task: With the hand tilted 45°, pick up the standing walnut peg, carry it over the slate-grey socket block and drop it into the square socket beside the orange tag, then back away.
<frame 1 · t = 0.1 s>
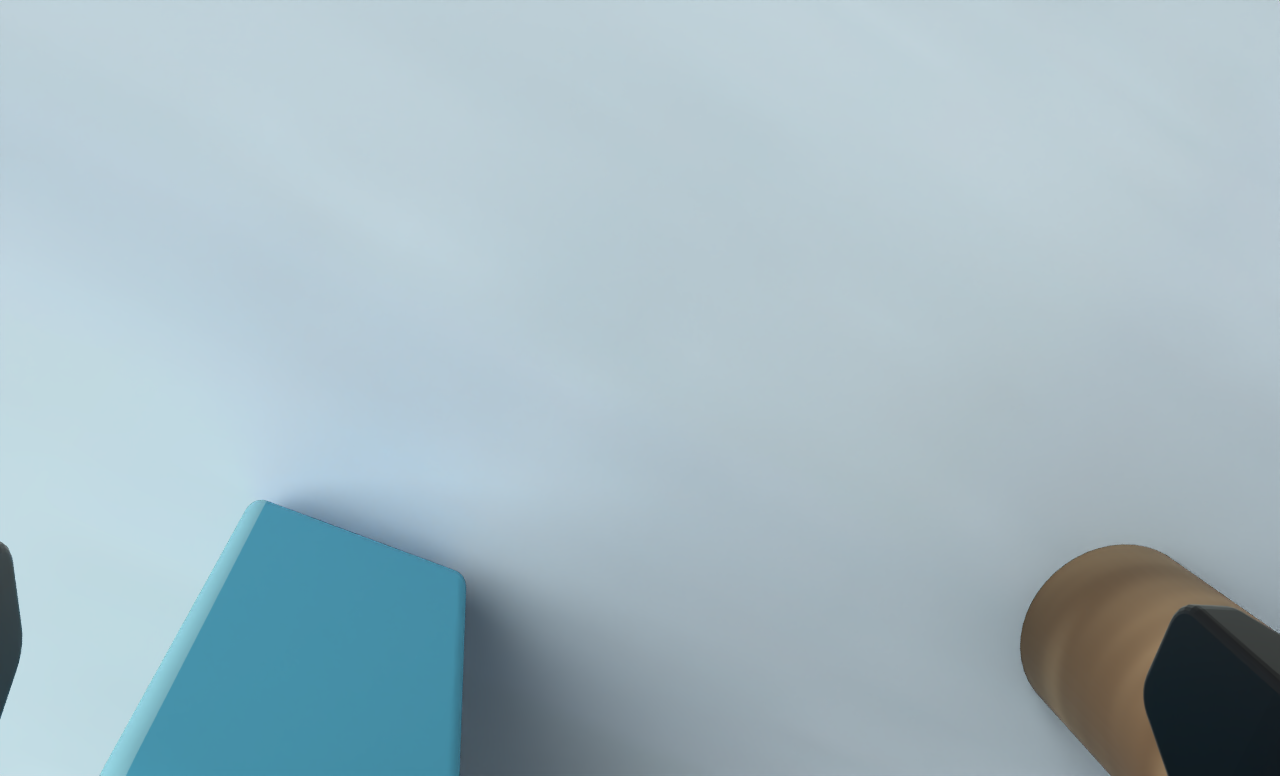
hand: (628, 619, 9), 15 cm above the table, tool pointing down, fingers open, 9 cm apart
walnut peg: (1111, 633, 28), on the table
data package: (267, 750, 26), on the table
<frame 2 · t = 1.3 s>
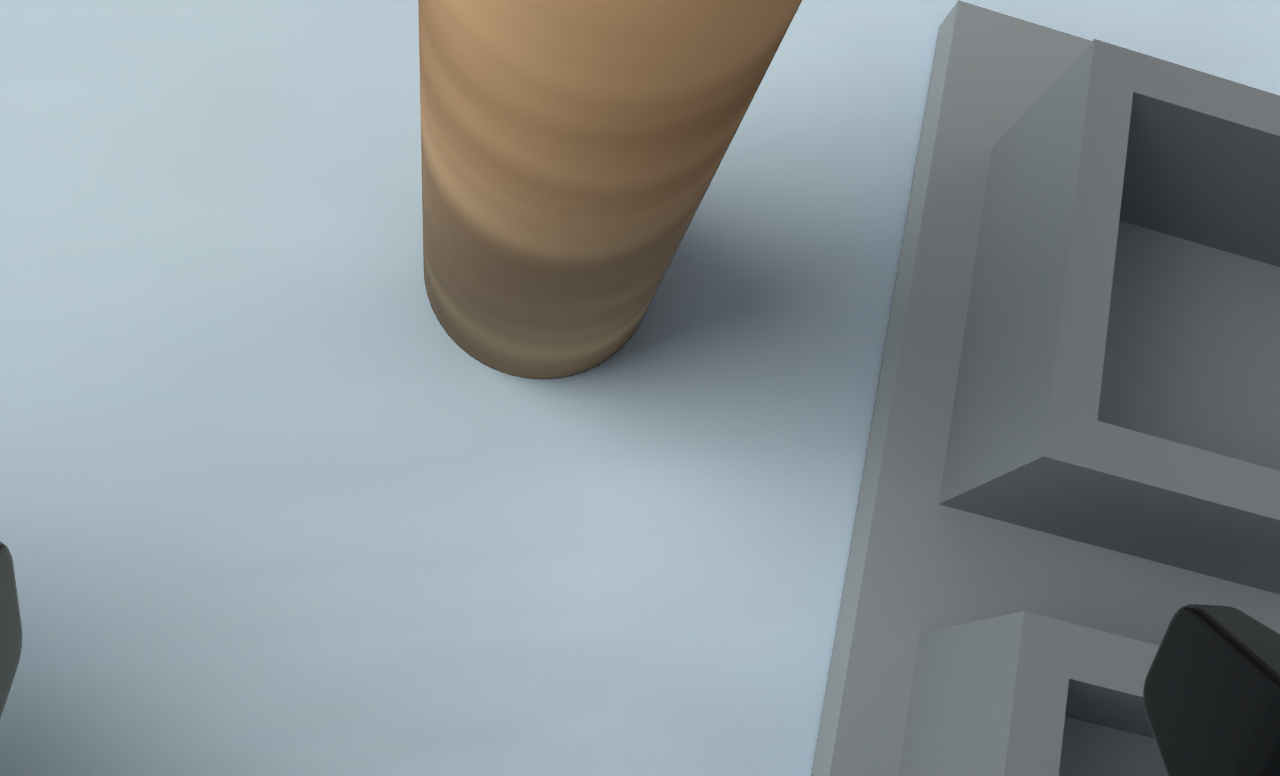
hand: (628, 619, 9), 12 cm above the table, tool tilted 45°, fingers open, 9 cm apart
socket block: (1147, 584, 23), on the table
walnut peg: (539, 269, 23), on the table
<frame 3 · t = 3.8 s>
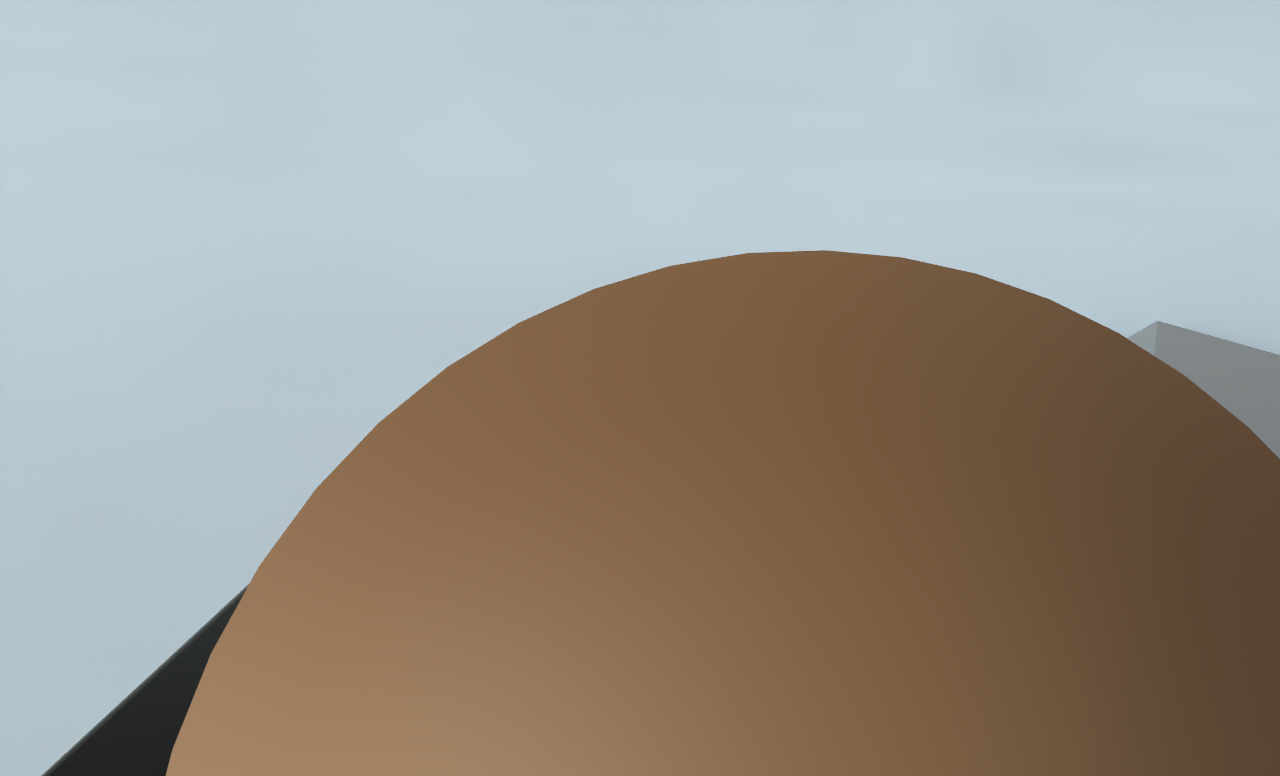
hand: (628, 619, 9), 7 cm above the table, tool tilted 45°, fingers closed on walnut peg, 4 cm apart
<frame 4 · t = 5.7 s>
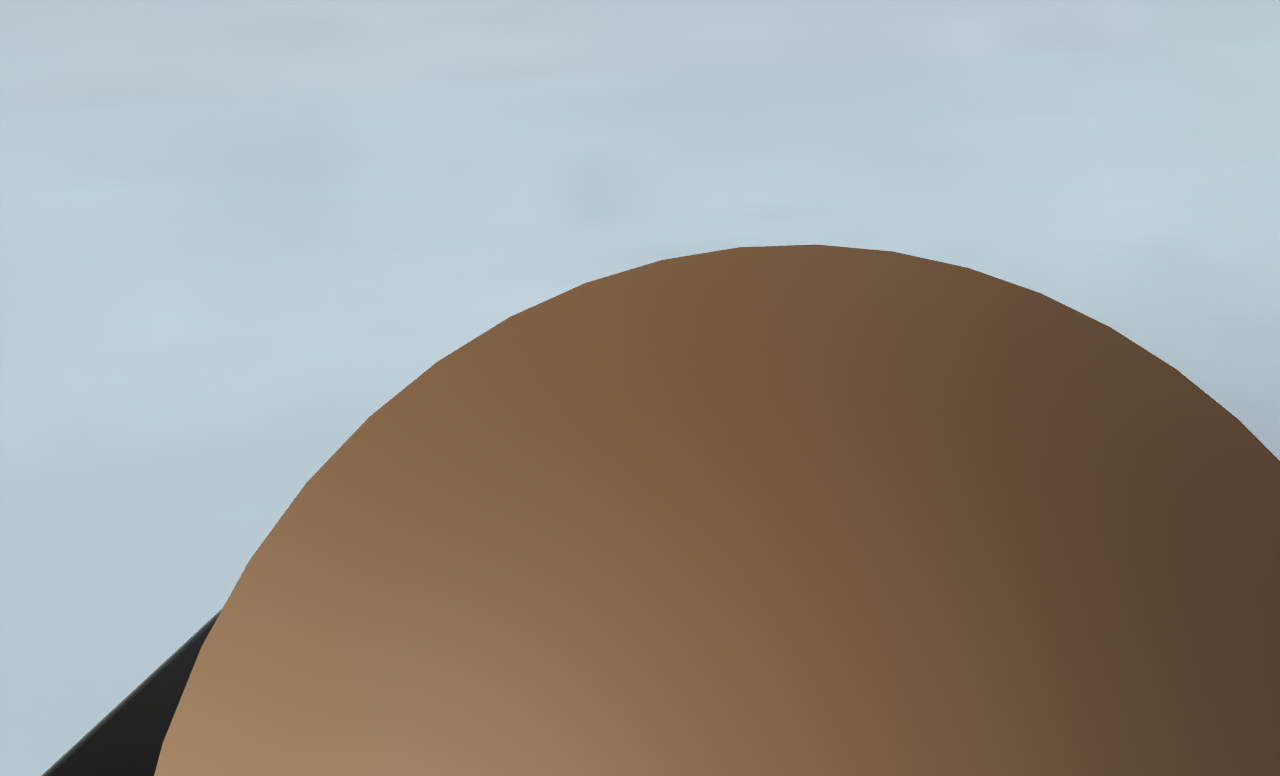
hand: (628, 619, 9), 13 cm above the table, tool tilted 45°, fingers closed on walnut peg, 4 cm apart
when the fingers open (9 cm above the table, at t = 7.7 s): walnut peg drops 1 cm, resting on socket block.
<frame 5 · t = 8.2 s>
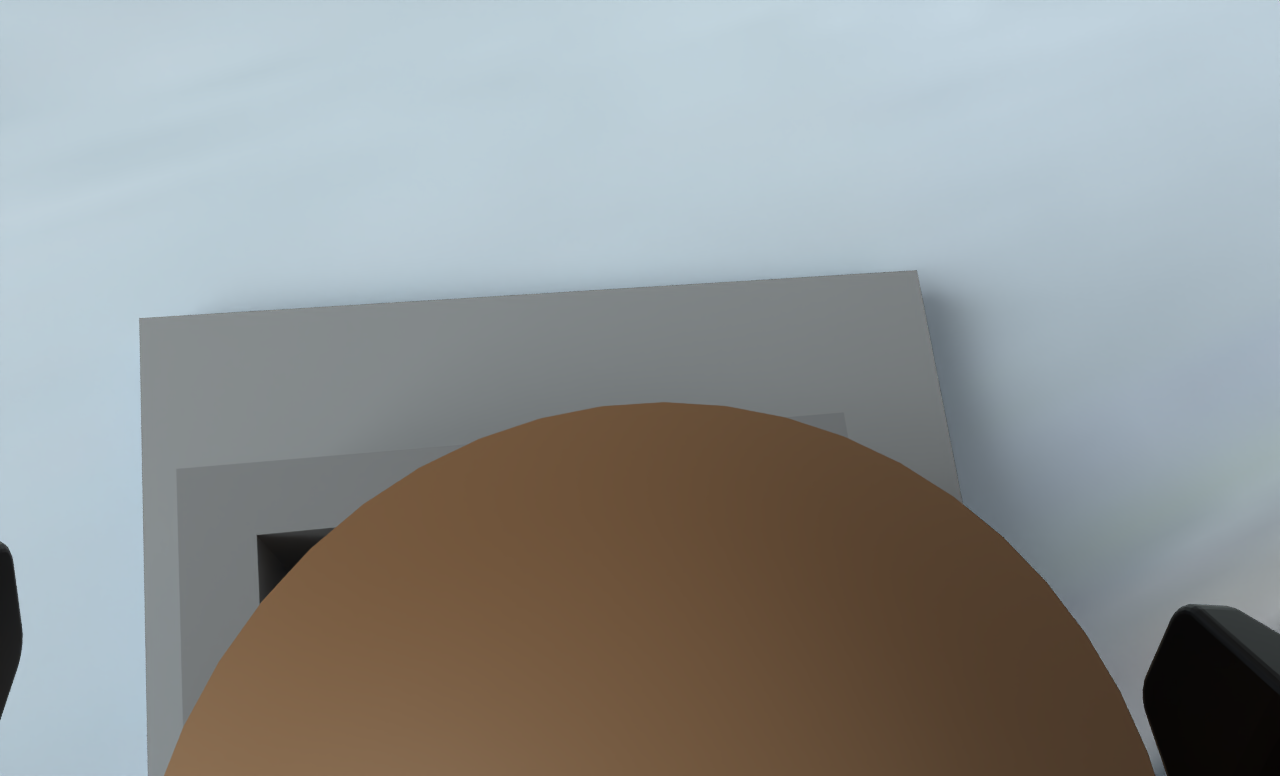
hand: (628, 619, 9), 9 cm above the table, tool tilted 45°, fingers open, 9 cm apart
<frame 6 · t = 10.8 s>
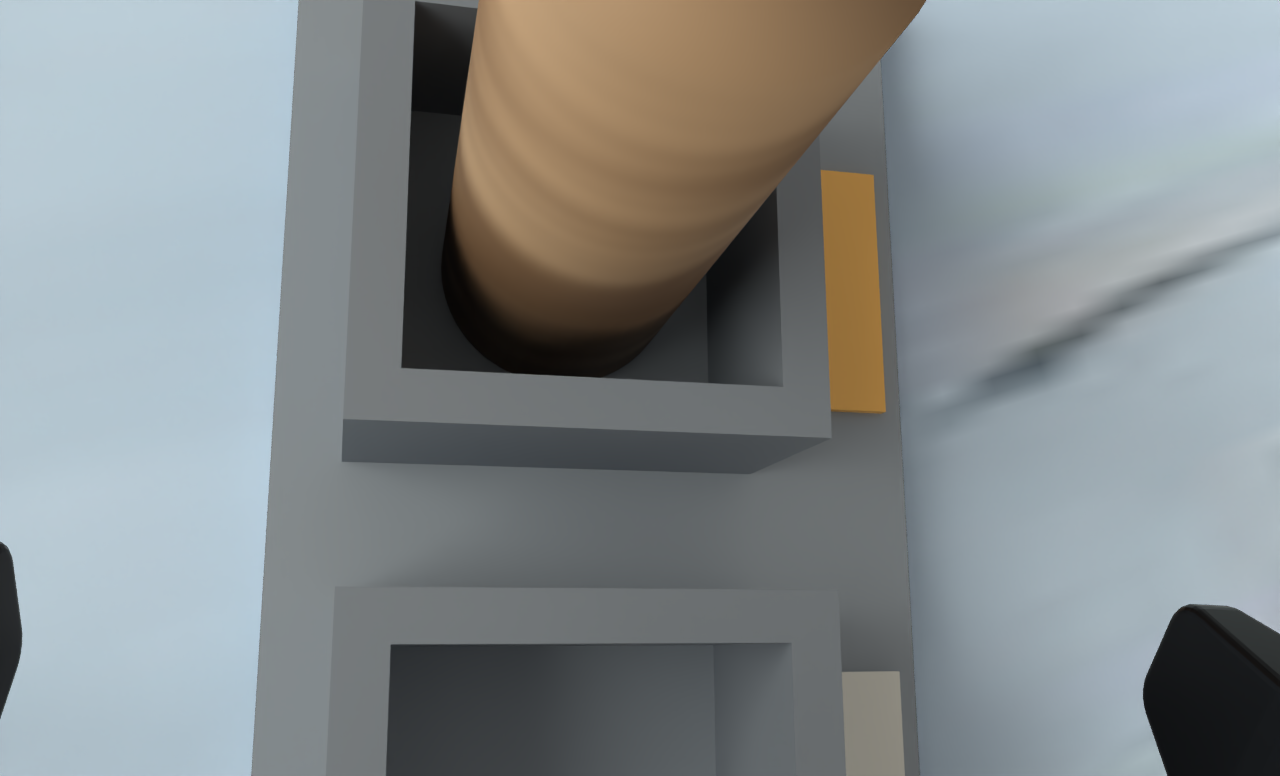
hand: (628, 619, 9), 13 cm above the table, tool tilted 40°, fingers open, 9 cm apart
socket block: (596, 487, 23), on the table
walnut peg: (558, 271, 23), point 1 cm above the table, touching socket block
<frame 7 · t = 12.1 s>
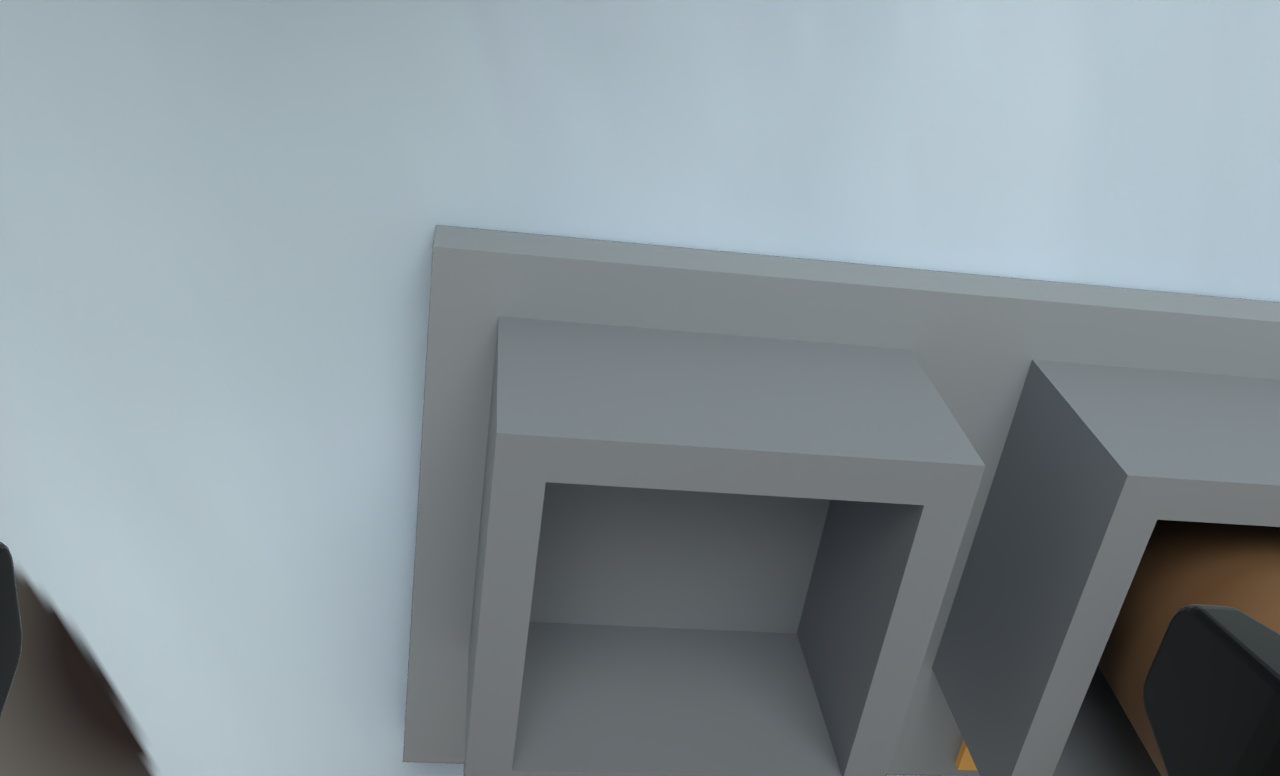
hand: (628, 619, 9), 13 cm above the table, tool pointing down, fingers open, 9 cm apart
socket block: (940, 535, 26), on the table
walnut peg: (1150, 538, 25), point 1 cm above the table, touching socket block
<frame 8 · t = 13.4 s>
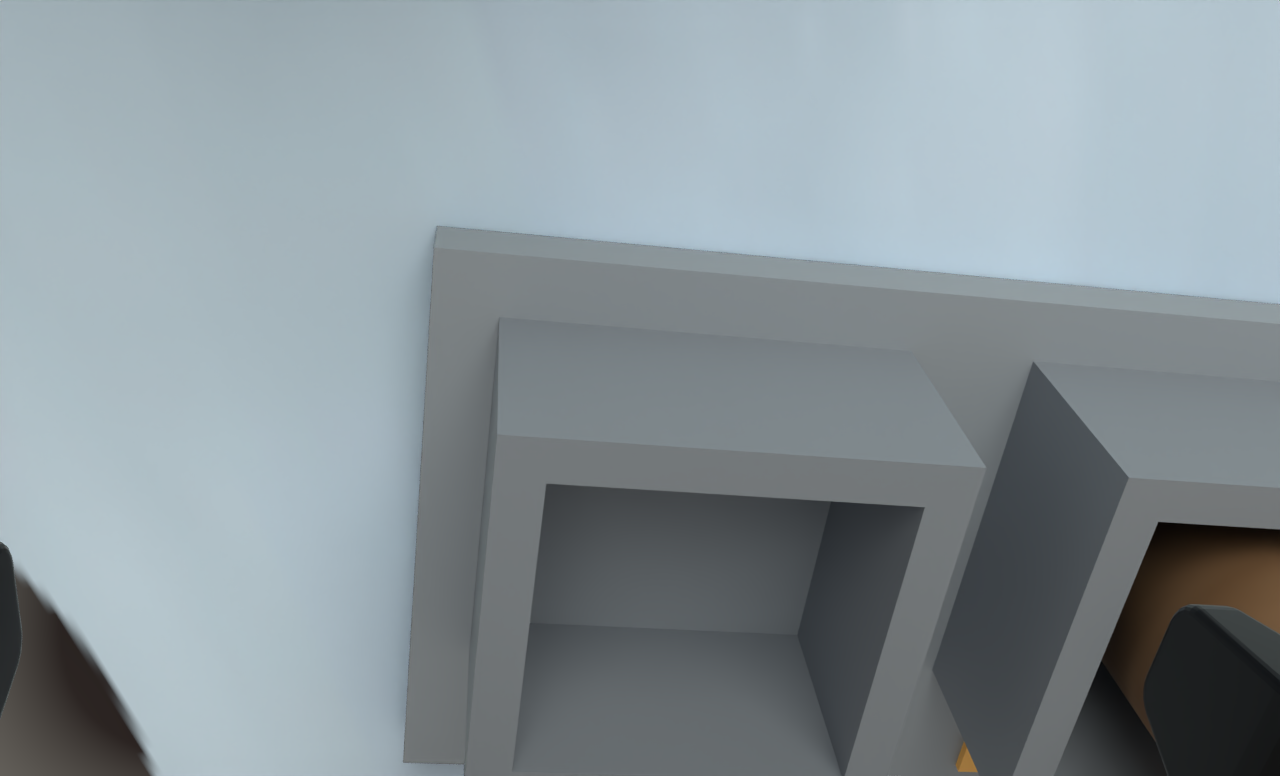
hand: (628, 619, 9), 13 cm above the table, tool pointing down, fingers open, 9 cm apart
socket block: (941, 537, 26), on the table
walnut peg: (1151, 540, 25), point 1 cm above the table, touching socket block
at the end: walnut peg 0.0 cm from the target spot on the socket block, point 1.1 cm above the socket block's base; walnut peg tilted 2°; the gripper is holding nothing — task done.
